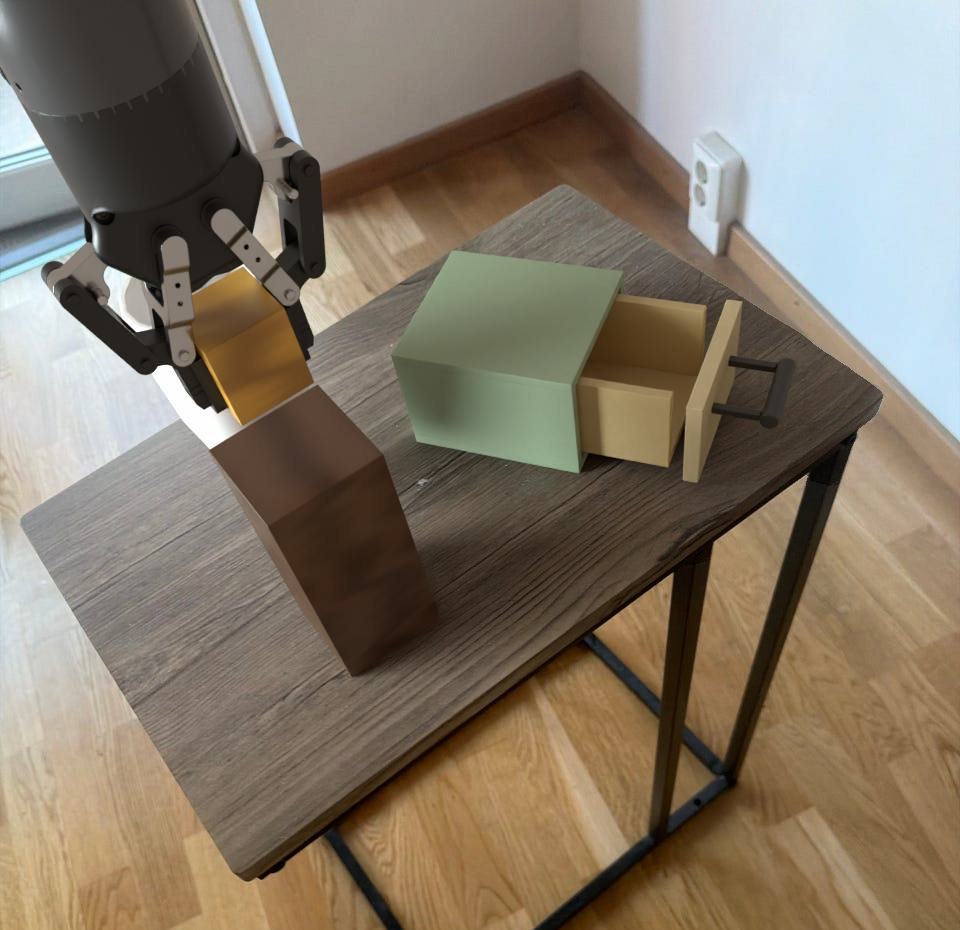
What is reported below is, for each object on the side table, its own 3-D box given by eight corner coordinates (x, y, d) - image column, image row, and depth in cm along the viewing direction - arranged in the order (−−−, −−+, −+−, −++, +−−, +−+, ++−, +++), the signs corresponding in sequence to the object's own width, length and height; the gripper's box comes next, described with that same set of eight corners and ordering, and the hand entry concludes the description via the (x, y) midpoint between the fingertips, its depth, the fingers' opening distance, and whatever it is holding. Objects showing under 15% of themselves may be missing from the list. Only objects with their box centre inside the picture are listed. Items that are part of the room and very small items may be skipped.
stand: (385, 552, 74) (317, 383, 59) (441, 617, 70) (383, 454, 55) (300, 608, 72) (207, 449, 57) (352, 678, 68) (267, 527, 53)
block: (275, 341, 53) (242, 265, 48) (315, 383, 50) (284, 307, 46) (205, 382, 52) (165, 309, 48) (242, 426, 49) (204, 354, 45)
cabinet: (626, 365, 80) (623, 270, 72) (579, 474, 75) (571, 385, 67) (471, 340, 85) (452, 249, 77) (416, 442, 79) (390, 355, 71)
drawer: (795, 388, 75) (810, 309, 68) (762, 495, 70) (774, 422, 63) (577, 354, 81) (571, 279, 74) (533, 451, 76) (522, 379, 69)
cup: (376, 506, 76) (291, 288, 58) (262, 567, 75) (138, 362, 57) (325, 431, 82) (233, 209, 64) (218, 486, 80) (93, 275, 62)
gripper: (-36, 175, 33) (172, 487, 48) (303, 2, 36) (402, 347, 50) (-93, 98, 37) (116, 409, 51) (218, -52, 40) (333, 283, 54)
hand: (257, 377), depth 51 cm, fingers closed on block, 4 cm apart
